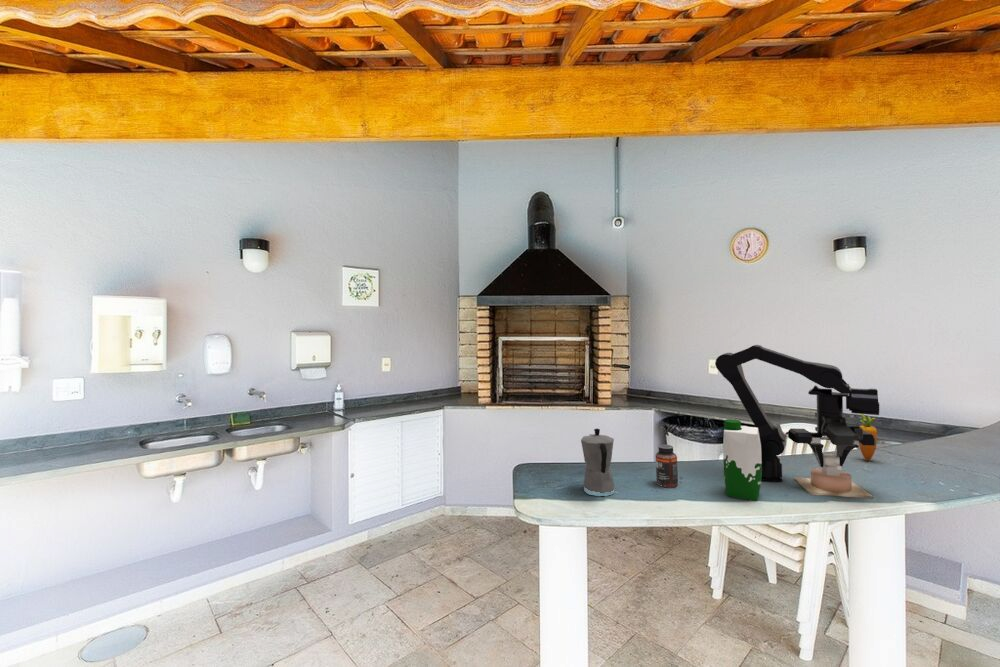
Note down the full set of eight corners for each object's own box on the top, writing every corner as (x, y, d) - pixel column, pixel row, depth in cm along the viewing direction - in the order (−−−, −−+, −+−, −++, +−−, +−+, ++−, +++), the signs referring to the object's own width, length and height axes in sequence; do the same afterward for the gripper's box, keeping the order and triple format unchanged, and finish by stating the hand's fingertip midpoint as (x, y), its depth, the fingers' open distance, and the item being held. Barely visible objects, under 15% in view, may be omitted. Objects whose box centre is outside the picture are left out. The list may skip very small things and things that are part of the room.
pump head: (830, 479, 115) (830, 461, 115) (818, 470, 122) (818, 453, 121) (848, 480, 114) (848, 462, 114) (835, 470, 121) (835, 454, 120)
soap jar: (819, 491, 116) (819, 469, 116) (805, 479, 125) (804, 459, 125) (858, 493, 114) (858, 471, 114) (841, 480, 122) (841, 460, 122)
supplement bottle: (678, 481, 128) (677, 444, 128) (677, 489, 123) (676, 450, 122) (657, 479, 131) (656, 442, 130) (655, 486, 125) (654, 448, 125)
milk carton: (725, 485, 124) (724, 416, 123) (762, 491, 119) (761, 419, 118) (722, 496, 116) (721, 423, 116) (762, 503, 112) (760, 426, 111)
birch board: (810, 494, 116) (810, 492, 116) (794, 479, 126) (793, 477, 126) (872, 498, 112) (872, 495, 112) (850, 482, 123) (850, 480, 123)
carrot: (881, 463, 136) (881, 416, 136) (863, 463, 137) (863, 416, 137) (871, 458, 141) (871, 413, 140) (854, 458, 142) (853, 413, 141)
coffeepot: (578, 482, 131) (576, 423, 130) (609, 481, 130) (607, 422, 130) (588, 504, 115) (586, 437, 115) (623, 503, 115) (621, 436, 114)
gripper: (803, 417, 113) (804, 476, 114) (888, 419, 108) (888, 480, 109) (786, 408, 124) (787, 462, 125) (863, 409, 119) (864, 465, 120)
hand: (830, 467), depth 119 cm, fingers closed on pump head, 4 cm apart
